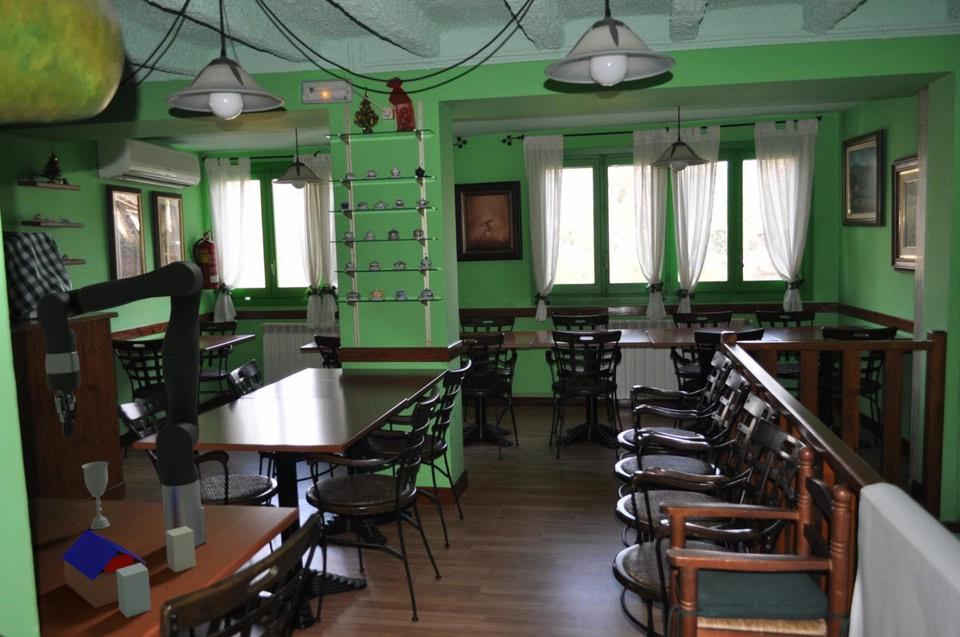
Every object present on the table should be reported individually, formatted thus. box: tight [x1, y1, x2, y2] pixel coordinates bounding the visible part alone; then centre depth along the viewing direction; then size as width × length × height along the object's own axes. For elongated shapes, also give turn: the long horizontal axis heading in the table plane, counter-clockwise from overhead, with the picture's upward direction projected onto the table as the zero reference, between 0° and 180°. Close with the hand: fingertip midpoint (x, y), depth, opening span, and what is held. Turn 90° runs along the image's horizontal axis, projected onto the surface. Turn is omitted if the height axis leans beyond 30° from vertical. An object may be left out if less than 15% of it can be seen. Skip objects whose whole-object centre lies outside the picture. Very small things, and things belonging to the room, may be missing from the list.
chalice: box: [81, 461, 111, 530], centre depth 215 cm, size 7×7×18 cm
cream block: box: [164, 526, 197, 573], centre depth 185 cm, size 5×5×9 cm
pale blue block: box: [116, 563, 152, 618], centre depth 162 cm, size 5×5×9 cm
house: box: [61, 529, 148, 609], centre depth 174 cm, size 12×20×12 cm, turn 46°
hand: (68, 436), depth 194 cm, fingers closed
